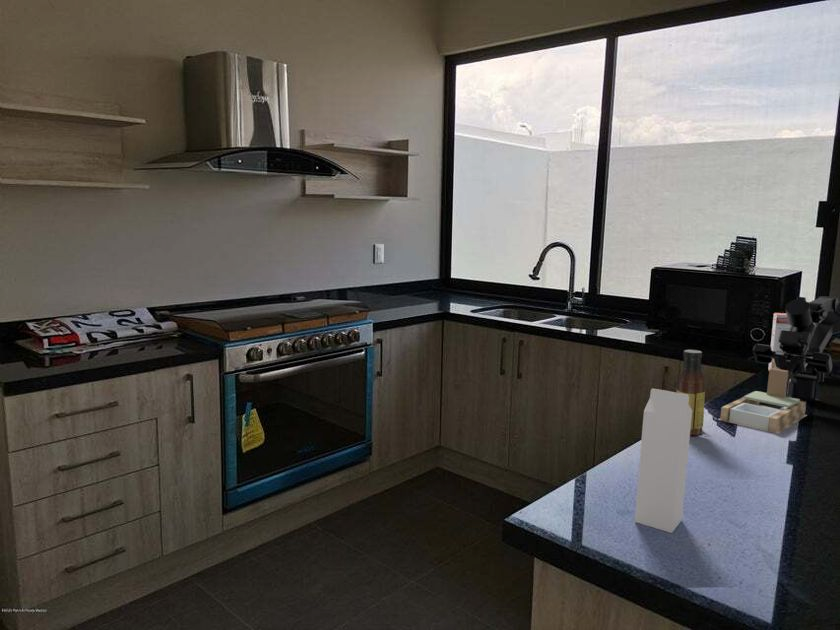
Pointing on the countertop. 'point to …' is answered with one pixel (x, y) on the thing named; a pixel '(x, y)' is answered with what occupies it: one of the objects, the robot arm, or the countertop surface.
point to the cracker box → (778, 333)
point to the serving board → (776, 421)
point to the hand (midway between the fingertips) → (782, 382)
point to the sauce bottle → (693, 388)
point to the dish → (752, 415)
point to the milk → (663, 460)
